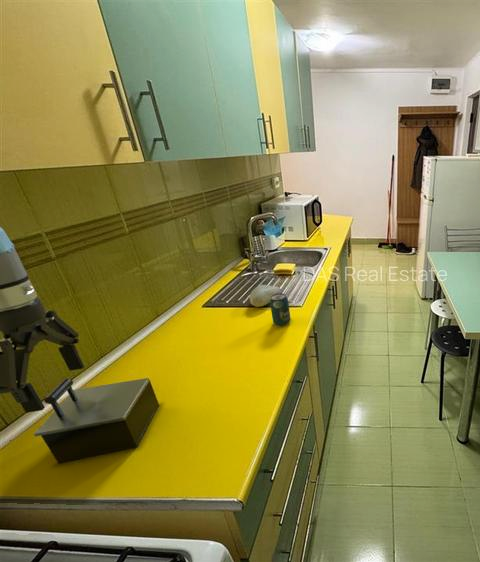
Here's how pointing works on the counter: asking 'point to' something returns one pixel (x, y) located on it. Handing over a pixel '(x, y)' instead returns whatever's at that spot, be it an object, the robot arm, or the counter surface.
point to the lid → (90, 405)
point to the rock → (263, 295)
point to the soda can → (280, 309)
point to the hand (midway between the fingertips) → (58, 387)
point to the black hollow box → (105, 433)
